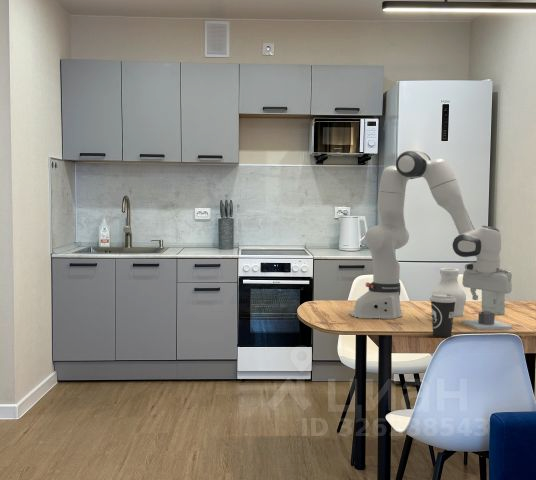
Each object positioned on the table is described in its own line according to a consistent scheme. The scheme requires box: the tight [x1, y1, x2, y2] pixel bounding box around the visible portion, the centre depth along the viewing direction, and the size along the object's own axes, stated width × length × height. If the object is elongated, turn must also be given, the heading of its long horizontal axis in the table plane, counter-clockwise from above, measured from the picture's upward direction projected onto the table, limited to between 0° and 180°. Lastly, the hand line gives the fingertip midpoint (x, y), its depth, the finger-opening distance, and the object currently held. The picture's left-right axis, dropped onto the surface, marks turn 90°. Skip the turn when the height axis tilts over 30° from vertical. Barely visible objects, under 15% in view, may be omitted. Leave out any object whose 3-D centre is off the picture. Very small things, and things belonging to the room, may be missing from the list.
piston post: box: [461, 310, 513, 331], centre depth 257 cm, size 14×14×6 cm
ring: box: [477, 311, 496, 325], centre depth 257 cm, size 6×6×4 cm
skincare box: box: [481, 290, 506, 316], centre depth 285 cm, size 8×6×15 cm
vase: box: [431, 267, 467, 318], centre depth 281 cm, size 14×14×20 cm
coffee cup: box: [429, 293, 457, 338], centre depth 239 cm, size 10×10×15 cm
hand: (485, 301), depth 257 cm, fingers open, 8 cm apart
